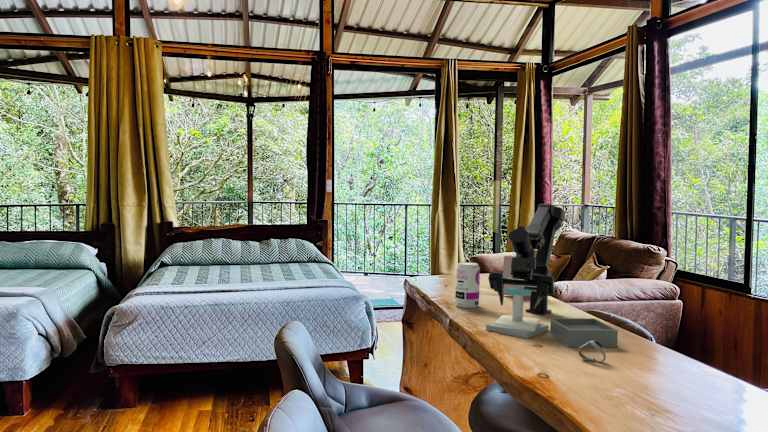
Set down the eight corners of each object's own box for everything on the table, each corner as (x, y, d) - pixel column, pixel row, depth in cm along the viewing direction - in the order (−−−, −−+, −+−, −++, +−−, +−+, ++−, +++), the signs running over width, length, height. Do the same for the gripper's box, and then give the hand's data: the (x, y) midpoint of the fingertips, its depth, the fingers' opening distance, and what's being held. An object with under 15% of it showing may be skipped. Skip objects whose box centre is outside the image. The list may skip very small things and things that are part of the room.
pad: (508, 322, 165) (508, 317, 165) (548, 330, 156) (548, 325, 156) (485, 329, 155) (486, 324, 155) (526, 338, 146) (526, 333, 146)
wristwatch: (604, 365, 125) (605, 344, 124) (576, 360, 128) (577, 340, 128) (606, 361, 128) (607, 340, 127) (579, 357, 131) (580, 336, 131)
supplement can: (480, 304, 190) (481, 262, 190) (476, 309, 182) (477, 265, 182) (457, 302, 193) (458, 261, 192) (453, 307, 185) (454, 264, 184)
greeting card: (532, 295, 208) (533, 257, 208) (526, 298, 202) (527, 259, 201) (504, 292, 214) (505, 255, 214) (497, 295, 208) (498, 257, 208)
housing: (550, 334, 152) (550, 318, 151) (594, 334, 152) (595, 318, 152) (568, 347, 139) (568, 330, 138) (617, 347, 139) (617, 330, 139)
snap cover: (501, 318, 163) (502, 284, 162) (539, 322, 158) (540, 287, 158) (494, 326, 153) (495, 290, 152) (534, 331, 148) (535, 293, 148)
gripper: (490, 245, 162) (481, 287, 152) (554, 248, 155) (549, 293, 145) (494, 267, 170) (486, 309, 160) (556, 272, 162) (551, 315, 153)
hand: (517, 306), depth 154 cm, fingers open, 9 cm apart
